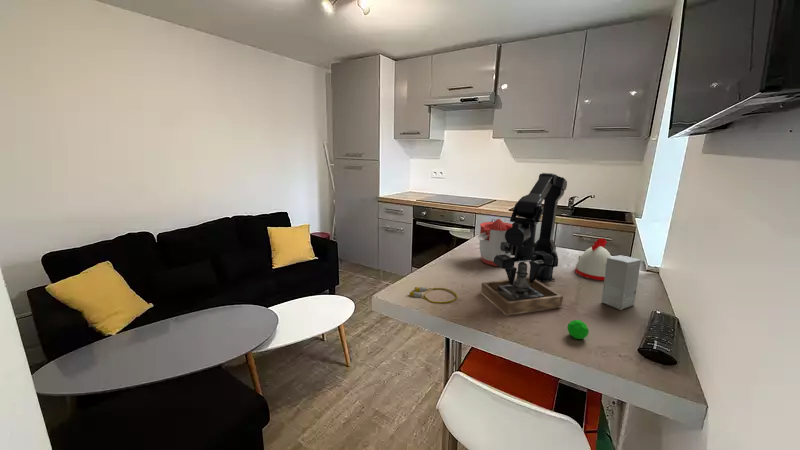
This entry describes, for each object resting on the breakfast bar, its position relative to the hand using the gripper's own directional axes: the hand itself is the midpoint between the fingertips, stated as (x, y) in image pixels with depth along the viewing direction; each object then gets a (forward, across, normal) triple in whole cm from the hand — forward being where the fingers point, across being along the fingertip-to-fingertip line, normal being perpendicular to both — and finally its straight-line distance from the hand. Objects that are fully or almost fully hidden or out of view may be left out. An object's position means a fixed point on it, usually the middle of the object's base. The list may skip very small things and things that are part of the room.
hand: (521, 283), depth 107 cm
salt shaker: (+4, 0, 0) cm, 4 cm away
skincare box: (+6, -30, +10) cm, 32 cm away
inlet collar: (+6, 0, 0) cm, 6 cm away
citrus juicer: (+6, -11, -35) cm, 37 cm away
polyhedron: (+6, -2, +23) cm, 24 cm away
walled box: (+6, 0, 0) cm, 6 cm away
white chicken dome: (+6, -44, -13) cm, 46 cm away
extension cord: (+7, +27, -11) cm, 29 cm away
